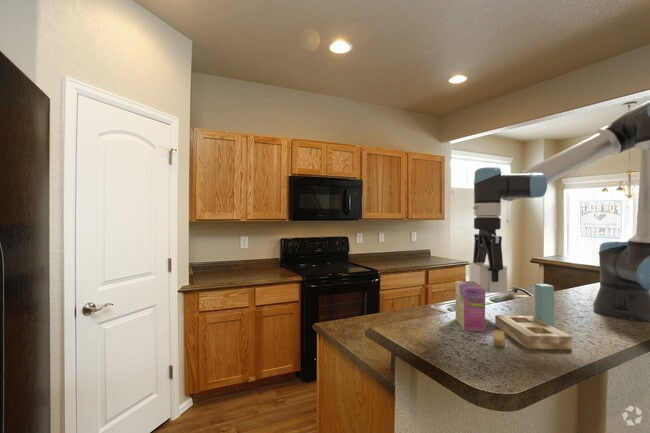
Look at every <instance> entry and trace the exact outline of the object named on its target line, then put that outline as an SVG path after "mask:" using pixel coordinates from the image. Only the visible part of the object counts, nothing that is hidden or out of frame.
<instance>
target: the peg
mask: <svg viewBox="0 0 650 433" xmlns="http://www.w3.org/2000/svg"><path fill="white" fill-rule="evenodd" d="M534 314H535V315H534V316H535V318H537V319H539V320H541V321H542V322H544V323H546V324H548V325H550V326H552V327H554V328H555V286H554V285H552V284H548V283H534Z"/></svg>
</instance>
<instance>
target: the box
mask: <svg viewBox="0 0 650 433" xmlns="http://www.w3.org/2000/svg"><path fill="white" fill-rule="evenodd" d="M454 285H455V319H456V321H457V323H459V326H460V327H461V329H462V330H463V331H468V332H483V333H485V332H486V293H485V289H484V288H482V287H481V286H480V285H478V284H477V283H476V282H473V281H470V280H467V281H466V280H455V284H454Z"/></svg>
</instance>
